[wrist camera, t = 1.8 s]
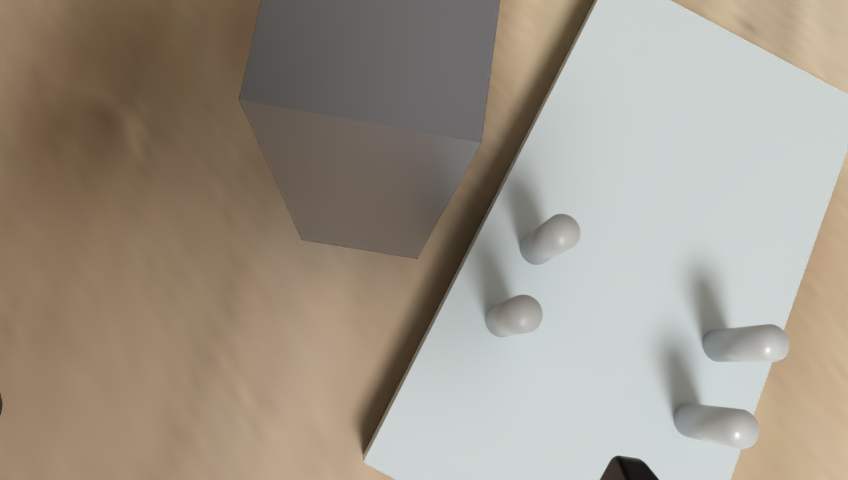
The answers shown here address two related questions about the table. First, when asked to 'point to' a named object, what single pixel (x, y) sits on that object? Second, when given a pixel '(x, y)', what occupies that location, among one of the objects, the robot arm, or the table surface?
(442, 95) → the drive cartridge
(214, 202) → the table surface
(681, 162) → the pin dock
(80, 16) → the table surface
